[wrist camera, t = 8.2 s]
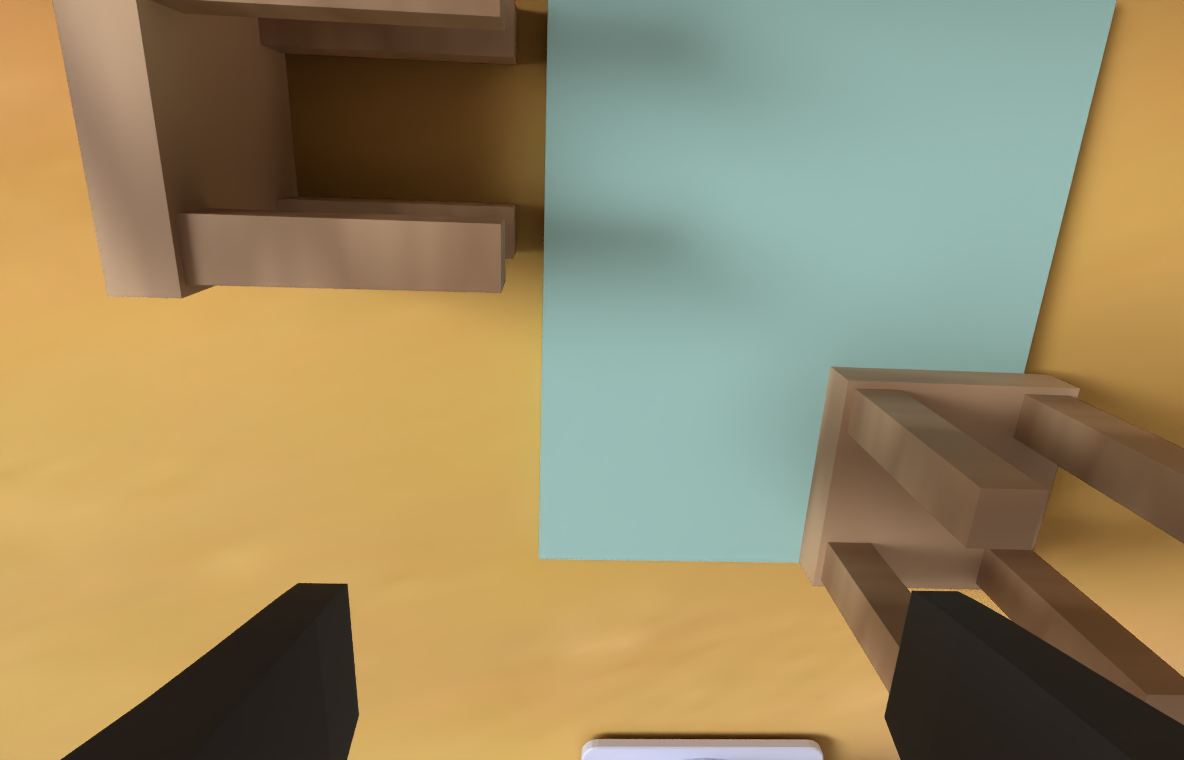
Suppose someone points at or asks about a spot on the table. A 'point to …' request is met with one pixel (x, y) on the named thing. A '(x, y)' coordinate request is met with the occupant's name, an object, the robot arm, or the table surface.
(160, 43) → the toppled stool
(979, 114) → the mat
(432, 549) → the table surface
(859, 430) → the upturned stool
